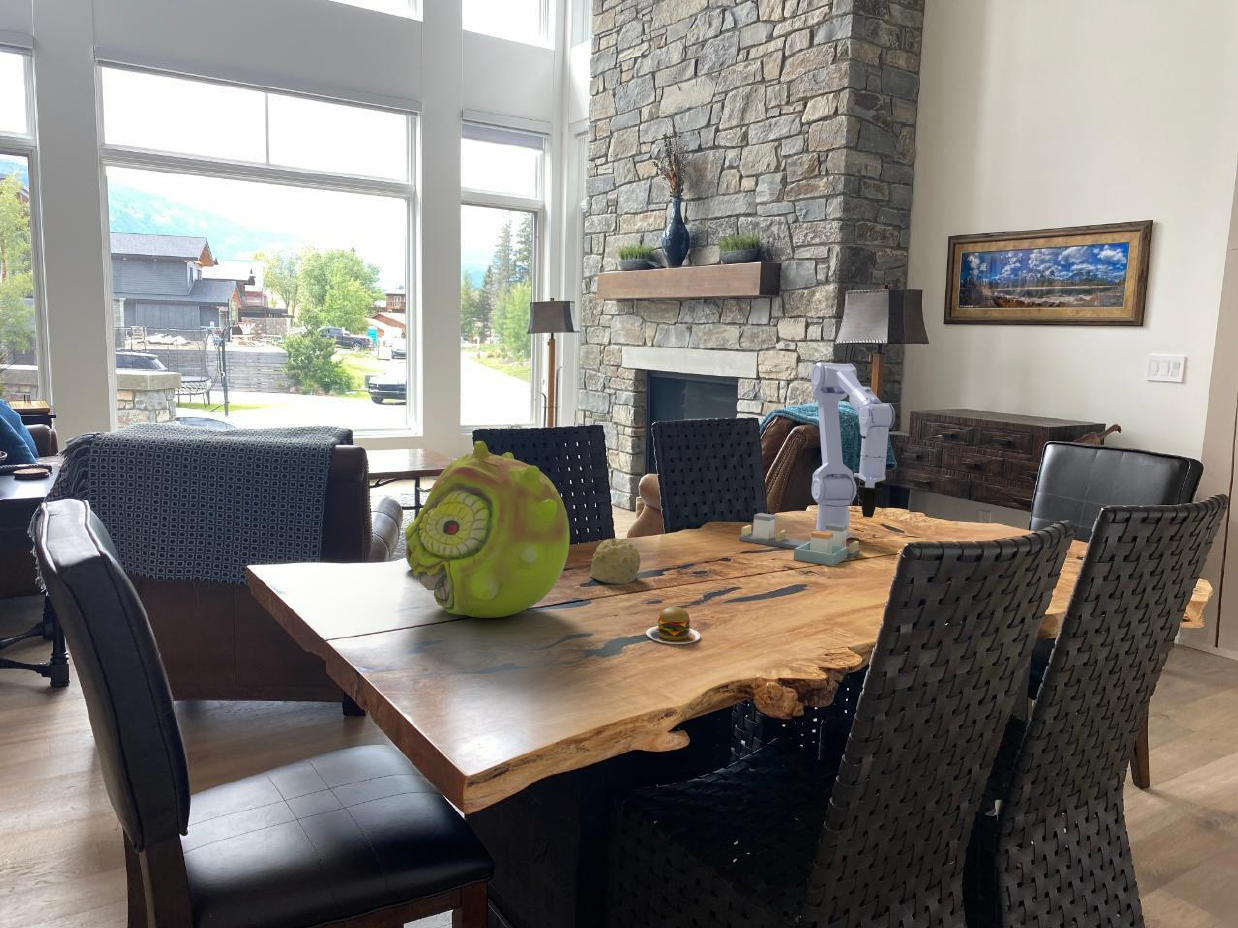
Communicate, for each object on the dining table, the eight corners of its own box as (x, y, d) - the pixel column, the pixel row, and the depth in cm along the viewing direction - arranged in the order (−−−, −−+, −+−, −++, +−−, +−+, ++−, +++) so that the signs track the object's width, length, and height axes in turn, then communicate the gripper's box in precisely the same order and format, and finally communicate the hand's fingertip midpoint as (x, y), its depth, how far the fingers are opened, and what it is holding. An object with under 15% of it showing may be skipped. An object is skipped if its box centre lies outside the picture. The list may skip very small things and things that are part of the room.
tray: (808, 551, 223) (809, 541, 222) (847, 557, 218) (848, 547, 218) (793, 559, 214) (794, 548, 214) (833, 566, 210) (834, 555, 209)
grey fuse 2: (829, 545, 226) (830, 523, 225) (845, 548, 224) (847, 525, 223) (824, 548, 223) (825, 525, 222) (840, 550, 221) (842, 527, 220)
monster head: (392, 594, 173) (394, 430, 169) (538, 586, 183) (544, 430, 178) (418, 648, 144) (421, 452, 140) (590, 635, 154) (598, 452, 150)
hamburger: (655, 655, 148) (657, 621, 147) (624, 632, 159) (626, 600, 158) (722, 648, 153) (725, 615, 152) (688, 626, 163) (690, 595, 163)
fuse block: (749, 536, 237) (749, 524, 237) (859, 553, 223) (860, 540, 223) (738, 540, 232) (739, 528, 232) (851, 558, 218) (852, 545, 218)
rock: (630, 589, 196) (617, 544, 199) (654, 574, 187) (640, 527, 190) (589, 598, 192) (576, 551, 194) (611, 583, 182) (597, 534, 185)
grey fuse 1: (758, 534, 235) (759, 512, 234) (773, 537, 233) (775, 515, 232) (752, 537, 232) (754, 515, 231) (768, 539, 230) (769, 517, 229)
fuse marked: (814, 553, 219) (816, 530, 218) (831, 556, 217) (833, 532, 216) (809, 556, 216) (811, 532, 215) (826, 559, 214) (828, 535, 213)
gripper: (857, 451, 225) (853, 507, 227) (853, 458, 212) (848, 518, 214) (888, 453, 223) (883, 510, 225) (886, 460, 210) (881, 521, 211)
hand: (868, 514), depth 219 cm, fingers open, 7 cm apart
